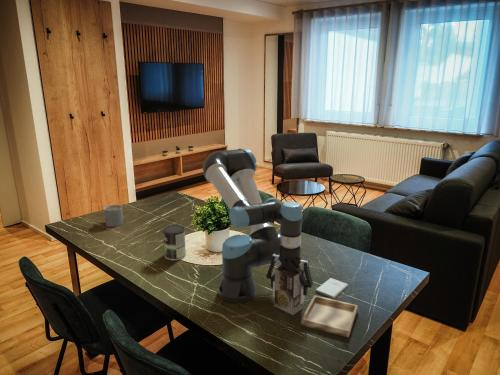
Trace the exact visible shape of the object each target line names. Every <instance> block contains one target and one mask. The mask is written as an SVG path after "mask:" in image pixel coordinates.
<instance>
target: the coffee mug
mask: <svg viewBox="0 0 500 375" xmlns="http://www.w3.org/2000/svg"><path fill="white" fill-rule="evenodd" d="M103 215H104V223H105V226H106V227H109V228H114V227H119V226H122V225H123V224H124V214H123V206H122V205H120V204H110V205H107V206H104V208H103Z"/></svg>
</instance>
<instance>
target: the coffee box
mask: <svg viewBox="0 0 500 375" xmlns="http://www.w3.org/2000/svg"><path fill="white" fill-rule="evenodd" d="M279 267H280V265H279V266H277V267H276V268H274V273H275V297H274V307H276V308H277V309H280V310H281V311H282V312H285V313H287V314H289V315H292V316H294V315H296V314H297V313H298V312H300V311H301V310H303V304H300V301H301V287H302V284H301V282H300V280H299V273H300V274H303V275H304V276H305V273H304V269H302V268H300V269H301V271H300V272H299V273H297V272H294V270H292V269H289V268H285V267H283V268H282V269H278V268H279Z"/></svg>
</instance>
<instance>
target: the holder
mask: <svg viewBox="0 0 500 375" xmlns="http://www.w3.org/2000/svg"><path fill="white" fill-rule="evenodd" d="M358 310H359V305H357V304H355V303H354V304H353V303H349V302H345V301H341V300H337V299H333V298H330V297H323V296H319V295H313V297H312V299H311V300H310V303H309V304H308V306H307V308H306V309H305V312H304V314H303V315H302V317H301V322H300V323H301V326H304V327H307V328H311V329H315V330H318V331H323V332H326V333H330V334H333V335H336V336H337V335H338V336H340V337H344V338H348V339H349V338H350V335H351V331H352V330H353V326H354V323H355V320H356V317H357V314H358V312H359V311H358Z"/></svg>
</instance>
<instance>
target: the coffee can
mask: <svg viewBox="0 0 500 375" xmlns="http://www.w3.org/2000/svg"><path fill="white" fill-rule="evenodd" d="M185 230H186V228H185V226H183V225H180V224H171V225H166V226H165V227H163V228H162V234H163V246H164V248H163V249H164V250H163V251H164V258H165V259H166V260H168V261H179V260H182V259H184V258H185V257H186V255H187V252H186V233H185Z"/></svg>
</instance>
